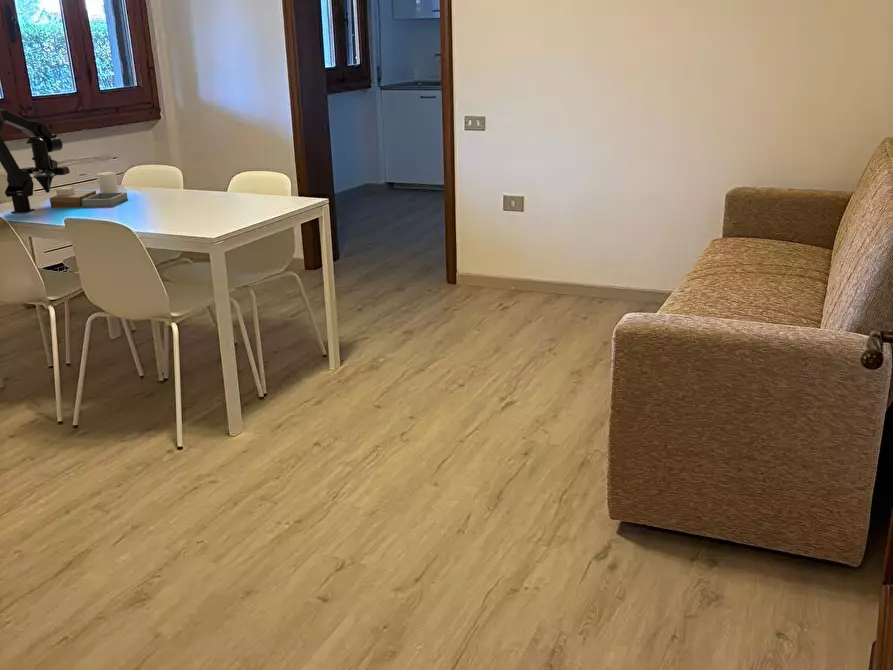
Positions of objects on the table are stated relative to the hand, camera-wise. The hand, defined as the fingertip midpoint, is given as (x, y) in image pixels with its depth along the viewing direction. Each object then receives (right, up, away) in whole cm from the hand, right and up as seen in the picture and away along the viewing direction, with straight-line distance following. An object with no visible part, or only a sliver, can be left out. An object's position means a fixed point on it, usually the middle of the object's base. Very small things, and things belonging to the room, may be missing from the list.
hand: (47, 192), depth 340 cm
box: (+23, -4, +1) cm, 24 cm away
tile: (+7, -1, 0) cm, 7 cm away
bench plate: (+10, -5, +1) cm, 11 cm away
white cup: (+19, +1, +16) cm, 25 cm away
